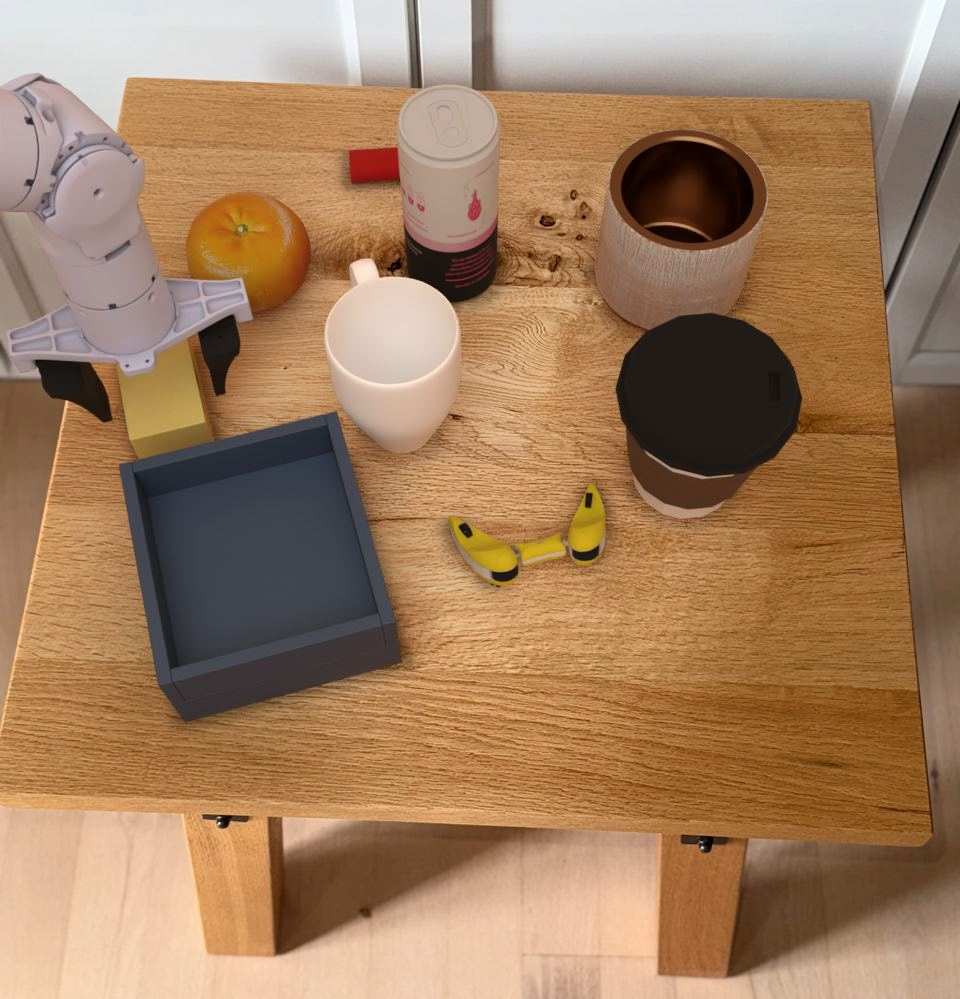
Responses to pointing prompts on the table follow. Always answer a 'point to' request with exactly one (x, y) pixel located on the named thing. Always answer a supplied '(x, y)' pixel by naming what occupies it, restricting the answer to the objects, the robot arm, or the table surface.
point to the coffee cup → (703, 410)
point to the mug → (393, 357)
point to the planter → (678, 226)
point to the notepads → (166, 404)
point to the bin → (257, 567)
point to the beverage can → (450, 189)
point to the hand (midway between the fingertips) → (162, 396)
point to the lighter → (374, 165)
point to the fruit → (250, 247)
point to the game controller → (533, 544)
